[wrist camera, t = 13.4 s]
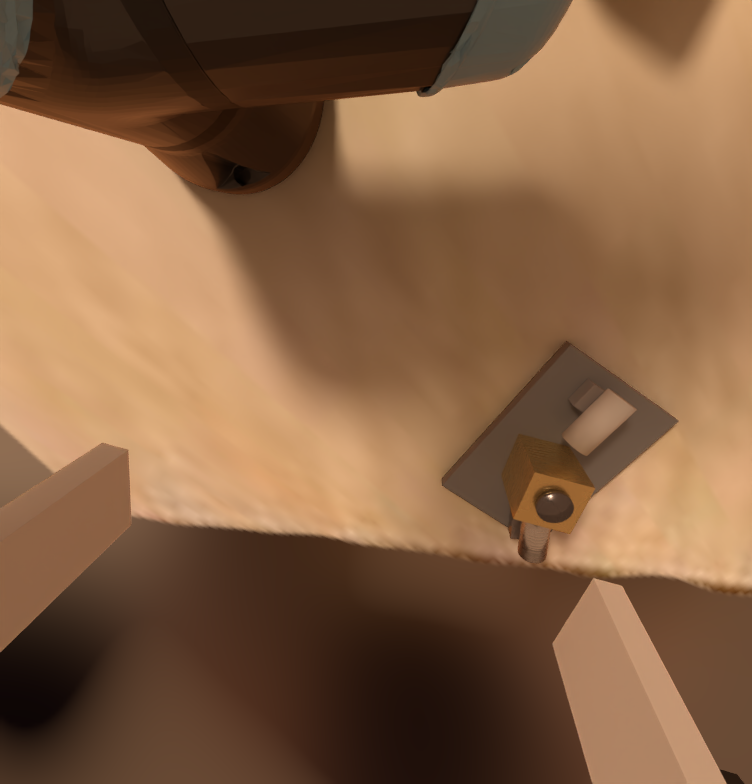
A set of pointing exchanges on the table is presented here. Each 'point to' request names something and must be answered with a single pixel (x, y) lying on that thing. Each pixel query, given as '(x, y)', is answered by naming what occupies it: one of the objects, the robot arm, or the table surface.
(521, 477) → the orange rectangular block
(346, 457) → the table surface
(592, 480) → the bolted mounting plate
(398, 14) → the robot arm
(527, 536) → the shaft
